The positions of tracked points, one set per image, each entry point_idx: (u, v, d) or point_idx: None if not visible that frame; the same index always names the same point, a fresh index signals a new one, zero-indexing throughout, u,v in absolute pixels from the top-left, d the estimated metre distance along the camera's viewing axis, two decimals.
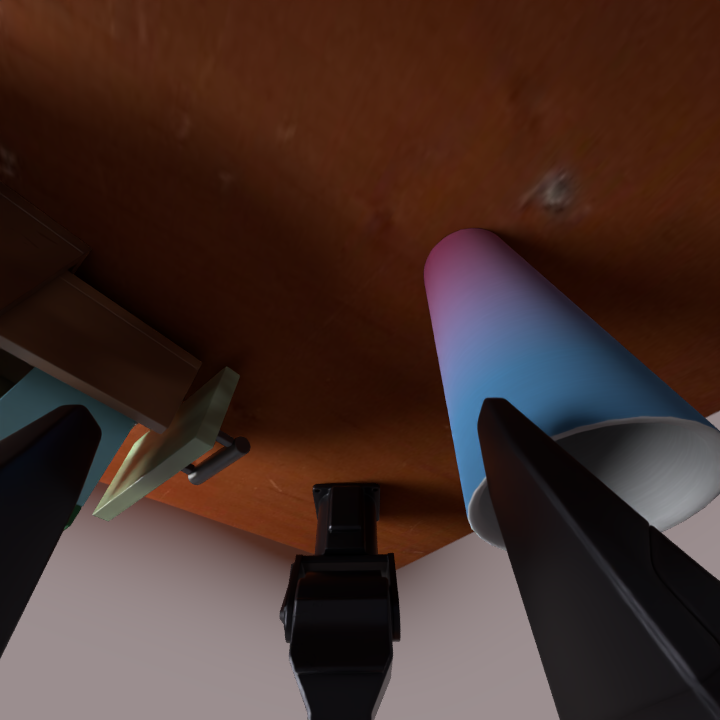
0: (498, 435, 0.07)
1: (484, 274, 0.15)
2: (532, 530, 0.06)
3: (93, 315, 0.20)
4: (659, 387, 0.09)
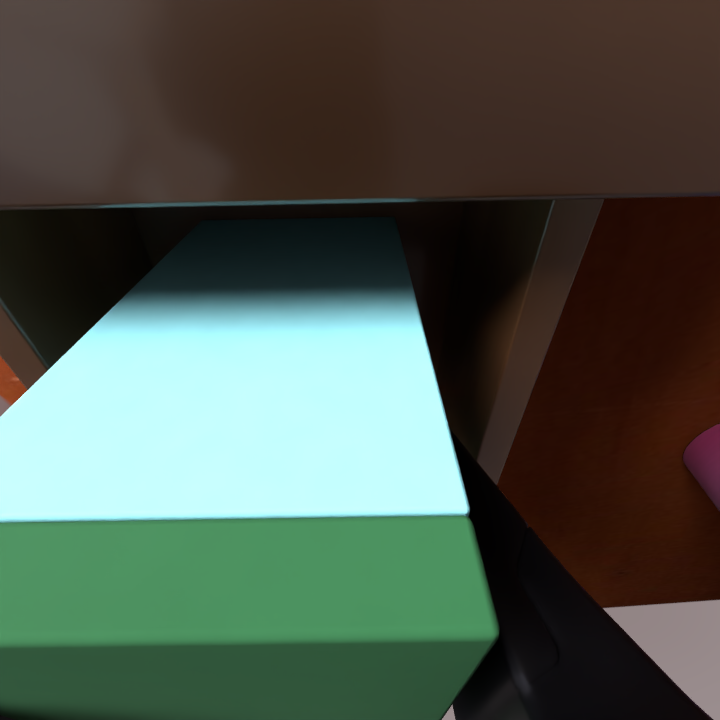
0: None
1: None
2: None
3: None
4: None
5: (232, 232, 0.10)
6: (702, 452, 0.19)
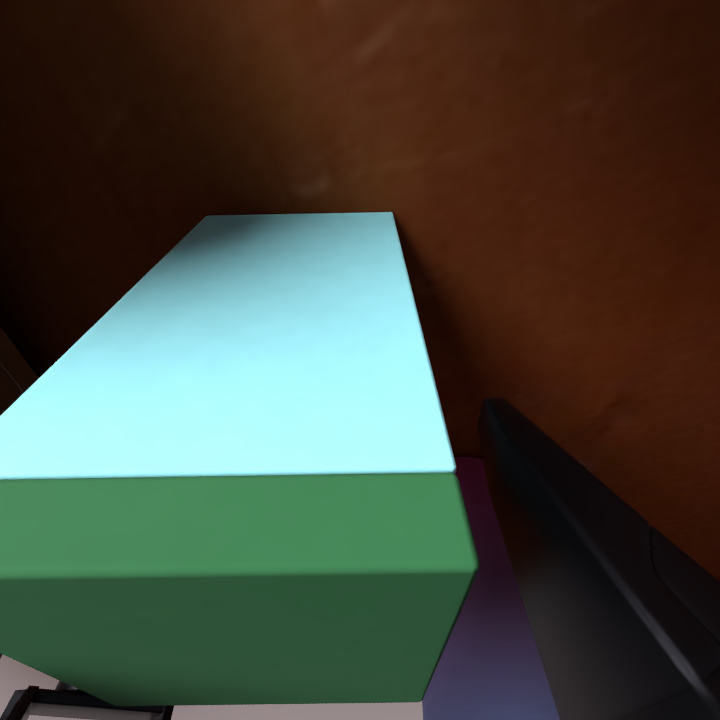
0: (498, 435, 0.07)
1: None
2: (532, 530, 0.06)
3: None
4: None
5: (236, 226, 0.10)
6: None
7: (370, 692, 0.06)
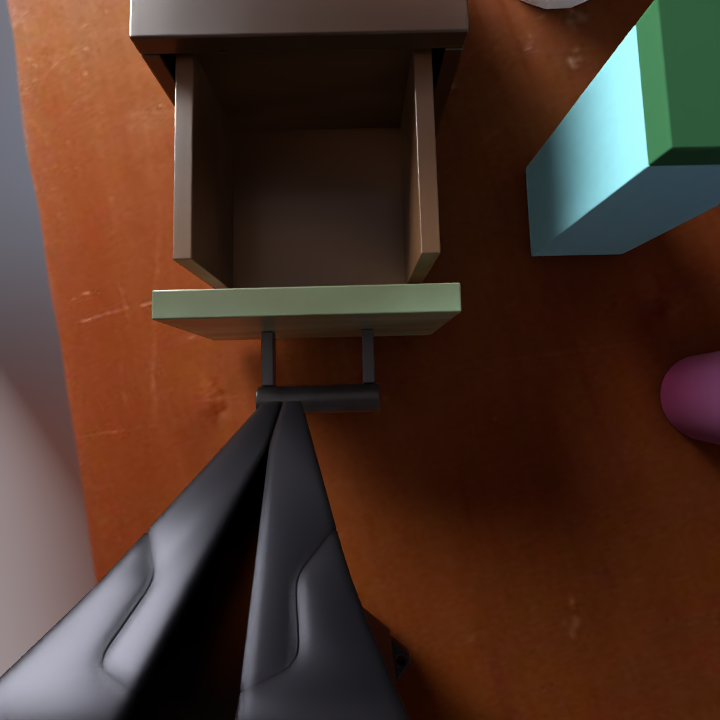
0: None
1: None
2: None
3: None
4: None
5: None
6: (670, 392, 0.21)
7: None
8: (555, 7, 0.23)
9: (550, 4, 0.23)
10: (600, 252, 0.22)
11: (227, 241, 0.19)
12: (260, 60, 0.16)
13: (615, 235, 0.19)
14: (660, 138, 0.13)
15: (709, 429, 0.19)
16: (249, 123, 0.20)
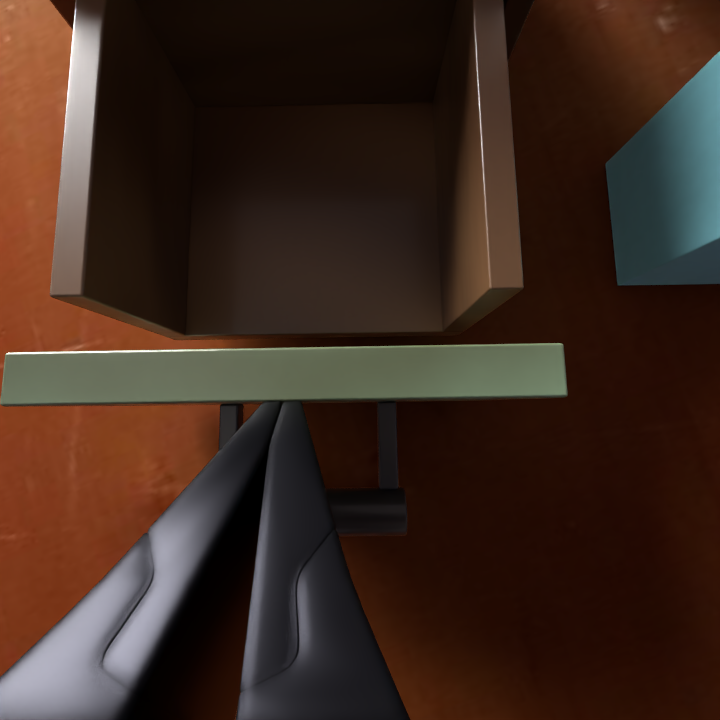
0: None
1: None
2: None
3: None
4: None
5: None
6: None
7: None
8: None
9: None
10: (719, 281, 0.15)
11: (176, 262, 0.13)
12: None
13: None
14: None
15: None
16: (216, 94, 0.14)
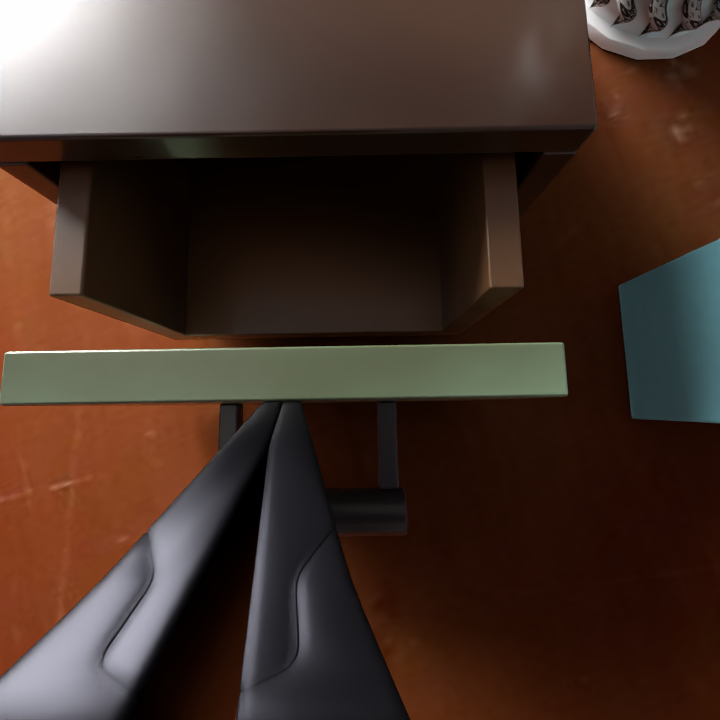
0: None
1: None
2: None
3: None
4: None
5: None
6: None
7: None
8: (651, 57, 0.17)
9: (645, 54, 0.17)
10: None
11: (175, 262, 0.13)
12: None
13: None
14: None
15: None
16: None
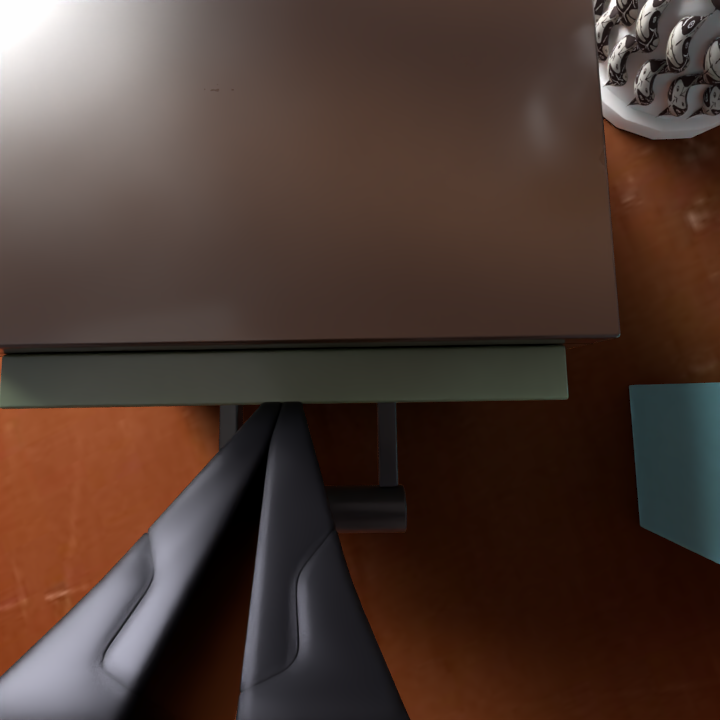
0: None
1: None
2: None
3: None
4: None
5: None
6: None
7: None
8: (668, 137, 0.16)
9: (662, 135, 0.16)
10: None
11: None
12: None
13: None
14: None
15: None
16: None
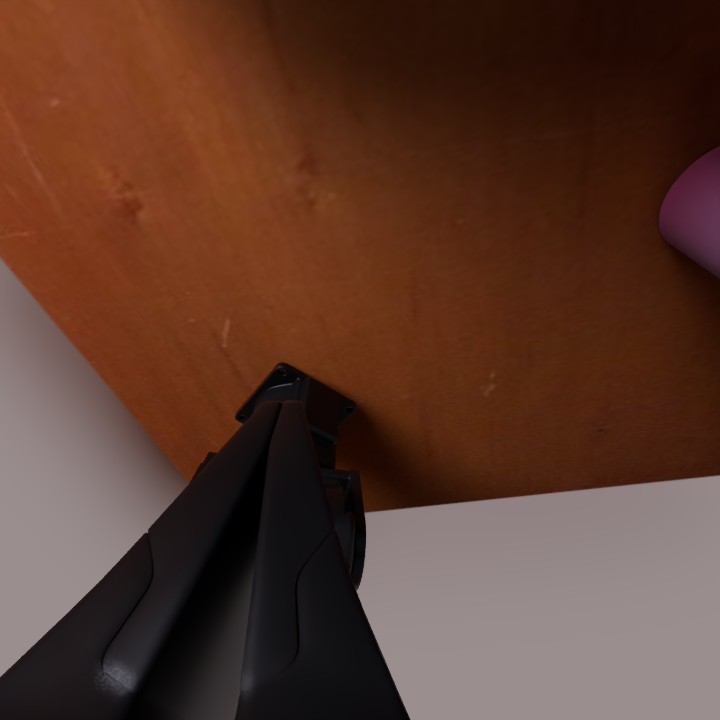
0: None
1: None
2: None
3: None
4: None
5: None
6: (678, 196, 0.17)
7: None
8: None
9: None
10: None
11: None
12: None
13: None
14: None
15: (690, 249, 0.17)
16: None
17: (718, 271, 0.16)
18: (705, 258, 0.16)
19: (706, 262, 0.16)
